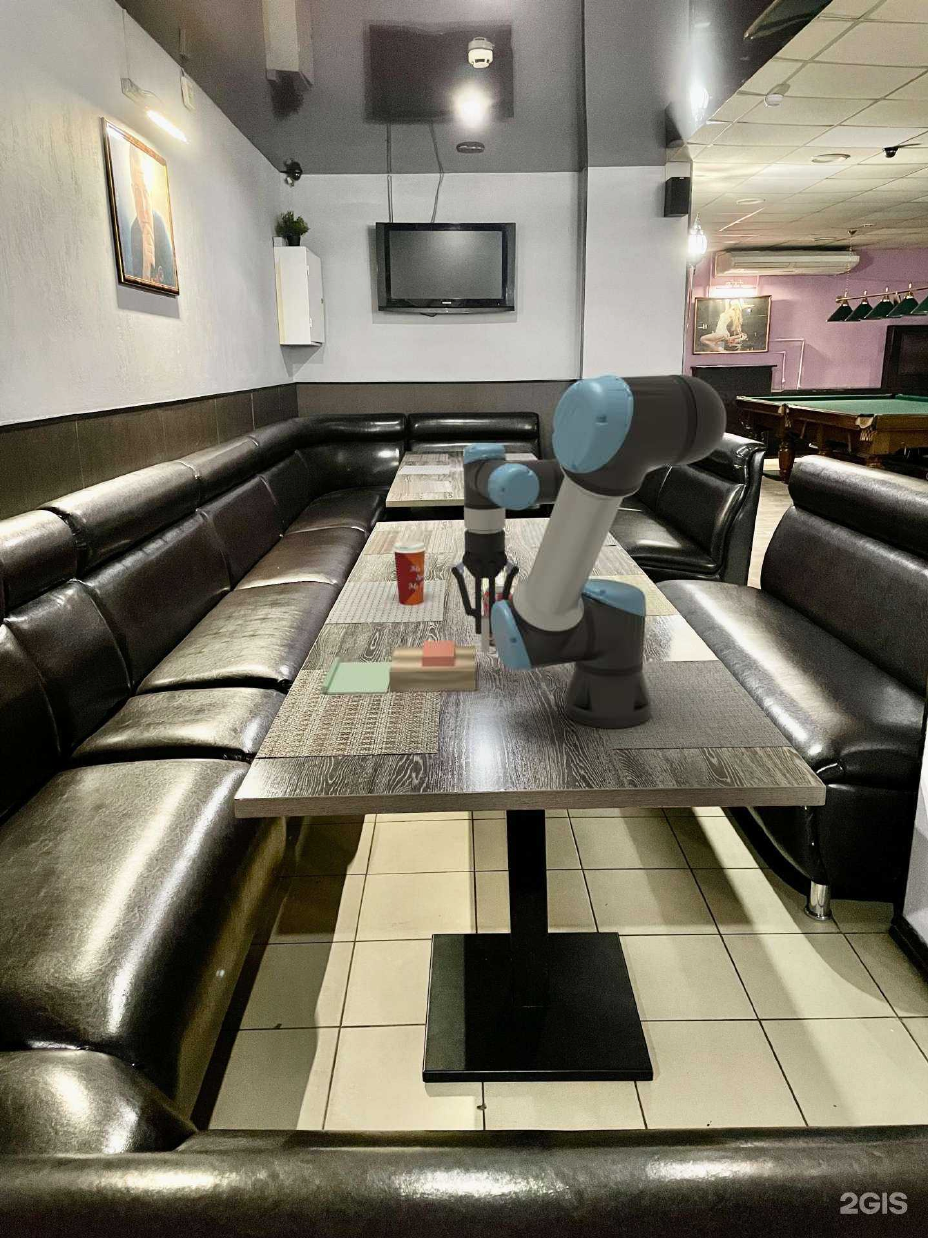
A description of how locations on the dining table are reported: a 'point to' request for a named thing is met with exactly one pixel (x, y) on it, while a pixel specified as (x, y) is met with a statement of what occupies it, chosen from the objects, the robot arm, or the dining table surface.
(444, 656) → the block
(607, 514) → the robot arm
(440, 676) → the deck
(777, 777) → the dining table surface
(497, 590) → the beverage can
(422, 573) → the coffee cup
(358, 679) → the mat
